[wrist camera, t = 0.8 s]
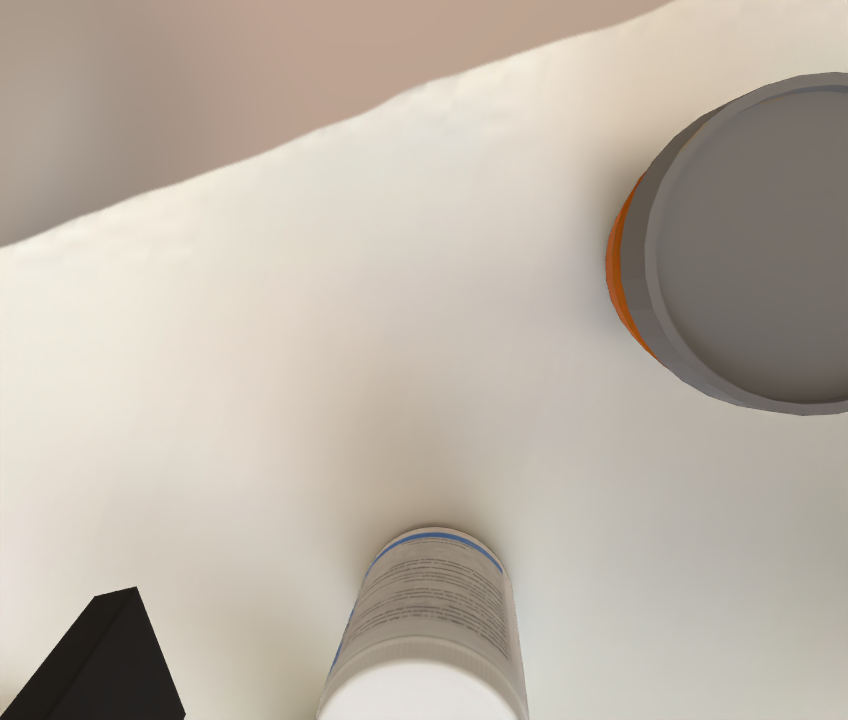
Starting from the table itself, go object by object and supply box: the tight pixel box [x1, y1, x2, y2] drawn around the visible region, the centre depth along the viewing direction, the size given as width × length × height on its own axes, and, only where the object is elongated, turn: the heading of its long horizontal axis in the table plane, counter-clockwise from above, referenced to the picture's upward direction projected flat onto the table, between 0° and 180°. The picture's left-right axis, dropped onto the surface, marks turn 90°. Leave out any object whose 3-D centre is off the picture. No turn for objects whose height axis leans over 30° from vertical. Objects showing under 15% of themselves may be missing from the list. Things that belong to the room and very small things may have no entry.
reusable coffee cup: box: [605, 72, 848, 416], centre depth 30 cm, size 13×12×15 cm
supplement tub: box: [315, 527, 529, 720], centre depth 34 cm, size 10×10×15 cm
